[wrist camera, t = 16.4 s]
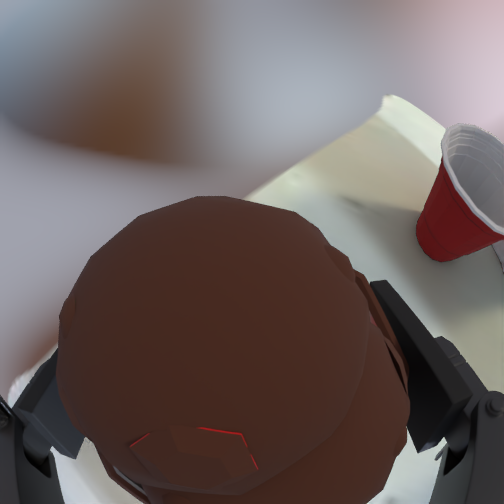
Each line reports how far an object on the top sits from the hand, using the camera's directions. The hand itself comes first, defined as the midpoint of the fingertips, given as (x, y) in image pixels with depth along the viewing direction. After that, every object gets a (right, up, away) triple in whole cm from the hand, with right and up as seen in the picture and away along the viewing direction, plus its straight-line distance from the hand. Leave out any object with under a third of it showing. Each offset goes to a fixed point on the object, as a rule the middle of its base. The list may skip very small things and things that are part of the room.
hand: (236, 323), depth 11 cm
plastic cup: (+20, +4, +14) cm, 25 cm away
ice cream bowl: (+1, -5, +5) cm, 7 cm away
